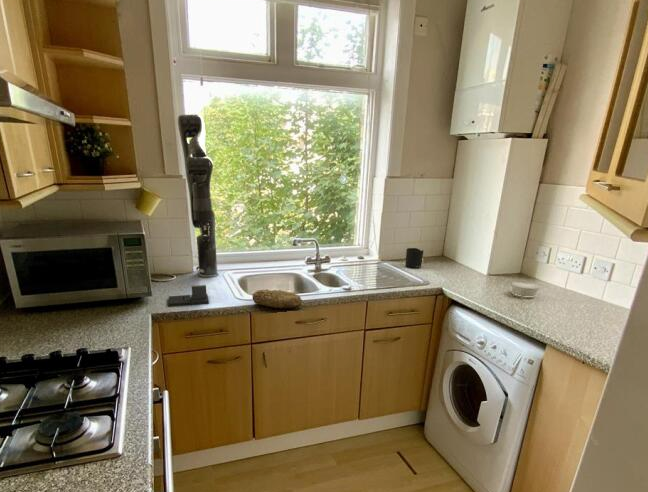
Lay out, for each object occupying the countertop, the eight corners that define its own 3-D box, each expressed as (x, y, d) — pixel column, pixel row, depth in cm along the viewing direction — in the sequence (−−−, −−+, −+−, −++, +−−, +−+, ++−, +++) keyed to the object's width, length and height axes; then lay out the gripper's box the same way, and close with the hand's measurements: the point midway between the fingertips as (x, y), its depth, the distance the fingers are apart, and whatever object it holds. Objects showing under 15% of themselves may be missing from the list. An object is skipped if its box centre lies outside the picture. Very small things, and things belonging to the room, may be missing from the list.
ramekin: (530, 292, 199) (533, 281, 197) (540, 300, 189) (543, 288, 187) (506, 291, 200) (508, 280, 198) (514, 298, 190) (517, 287, 188)
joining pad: (184, 297, 183) (182, 283, 181) (207, 296, 186) (206, 282, 183) (184, 305, 174) (182, 290, 172) (208, 303, 177) (207, 288, 175)
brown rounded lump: (250, 308, 176) (285, 310, 163) (249, 289, 175) (284, 289, 162) (272, 306, 186) (306, 307, 173) (271, 288, 185) (306, 288, 172)
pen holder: (404, 268, 238) (406, 250, 234) (405, 264, 246) (406, 247, 243) (421, 269, 236) (423, 252, 232) (421, 265, 244) (423, 248, 240)
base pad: (169, 298, 182) (168, 296, 181) (190, 297, 184) (190, 294, 184) (168, 306, 173) (168, 303, 172) (191, 304, 175) (190, 302, 175)
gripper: (192, 206, 179) (196, 244, 185) (194, 211, 166) (197, 251, 172) (210, 206, 180) (213, 243, 187) (213, 211, 168) (215, 250, 174)
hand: (205, 247), depth 180 cm, fingers open, 8 cm apart
